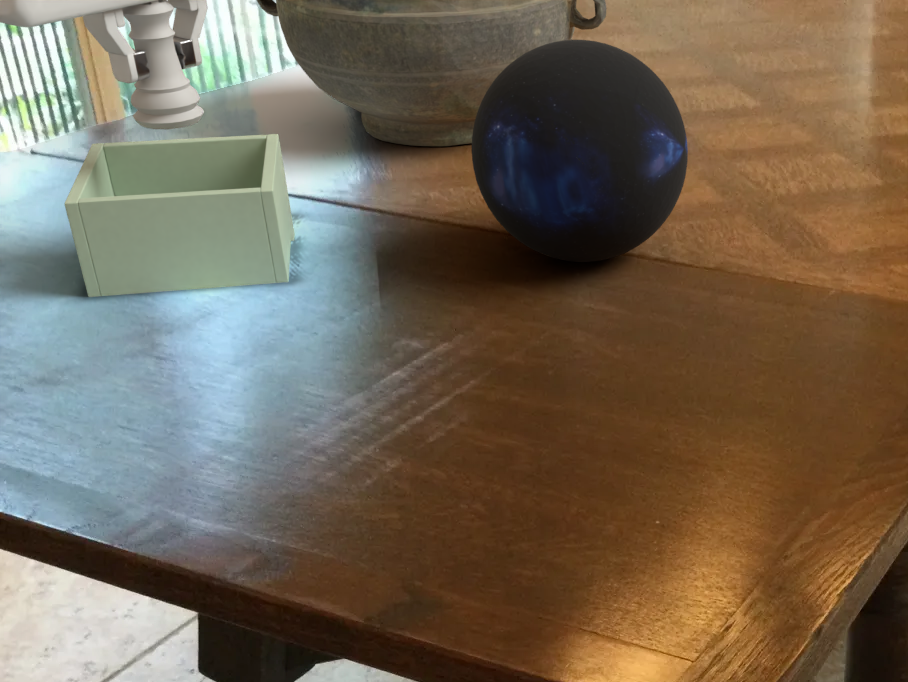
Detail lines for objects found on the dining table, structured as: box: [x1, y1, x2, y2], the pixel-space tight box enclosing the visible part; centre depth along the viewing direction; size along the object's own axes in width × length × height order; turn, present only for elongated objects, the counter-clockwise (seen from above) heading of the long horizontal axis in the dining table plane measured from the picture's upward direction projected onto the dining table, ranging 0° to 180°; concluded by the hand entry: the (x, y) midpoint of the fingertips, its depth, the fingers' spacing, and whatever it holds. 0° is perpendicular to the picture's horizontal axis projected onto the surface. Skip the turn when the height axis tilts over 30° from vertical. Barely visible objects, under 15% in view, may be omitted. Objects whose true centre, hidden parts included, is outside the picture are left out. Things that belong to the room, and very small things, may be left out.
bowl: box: [256, 0, 607, 147], centre depth 121 cm, size 32×26×15 cm
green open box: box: [64, 133, 296, 298], centre depth 93 cm, size 13×13×8 cm
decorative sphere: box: [471, 39, 689, 263], centre depth 95 cm, size 15×15×15 cm
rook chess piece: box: [122, 0, 205, 130], centre depth 87 cm, size 4×4×8 cm
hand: (159, 73), depth 87 cm, fingers closed on rook chess piece, 3 cm apart
